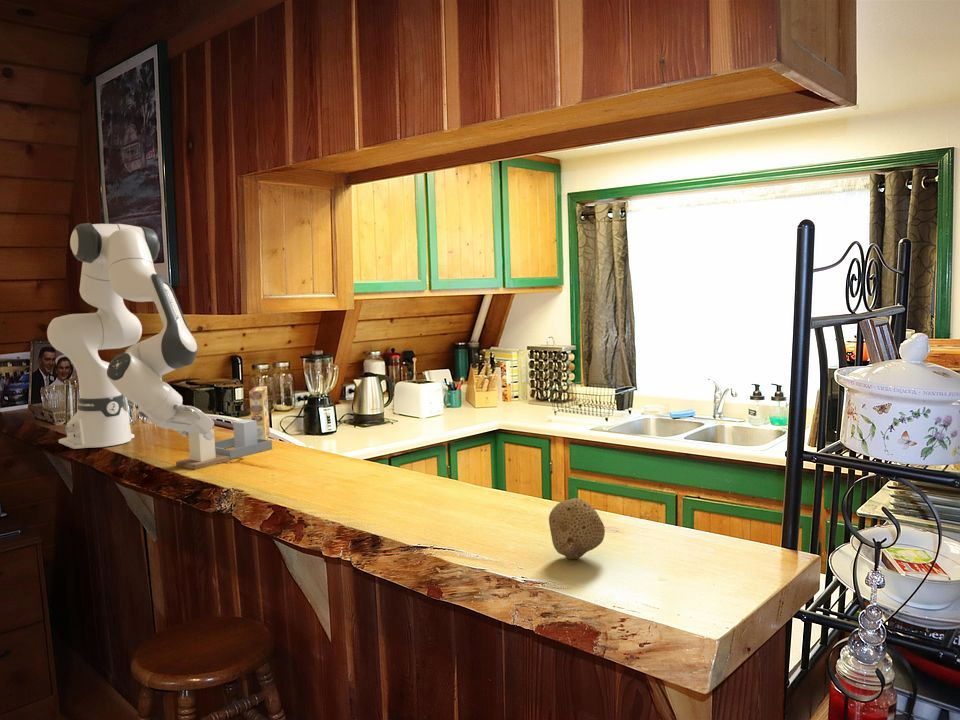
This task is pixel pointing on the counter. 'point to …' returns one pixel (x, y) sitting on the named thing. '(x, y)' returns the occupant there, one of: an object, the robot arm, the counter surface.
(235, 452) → the grey square frame
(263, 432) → the candy box
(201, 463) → the walnut board
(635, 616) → the counter surface
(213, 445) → the cream carton
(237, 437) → the tall white block
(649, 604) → the counter surface
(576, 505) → the natural sponge
